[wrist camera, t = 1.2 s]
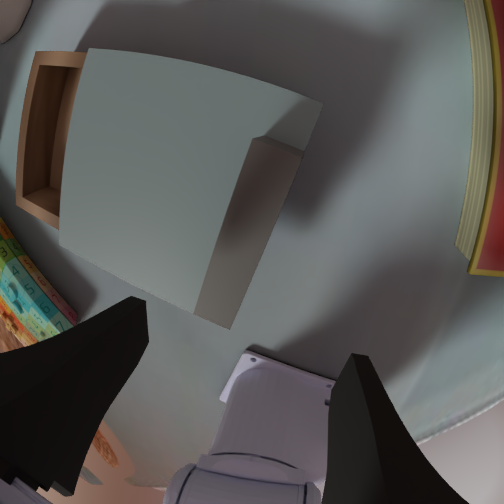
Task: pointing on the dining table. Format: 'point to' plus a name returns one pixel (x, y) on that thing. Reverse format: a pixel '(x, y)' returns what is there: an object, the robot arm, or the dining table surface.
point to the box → (46, 132)
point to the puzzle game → (29, 296)
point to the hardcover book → (485, 143)
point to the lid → (179, 175)
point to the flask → (12, 17)
